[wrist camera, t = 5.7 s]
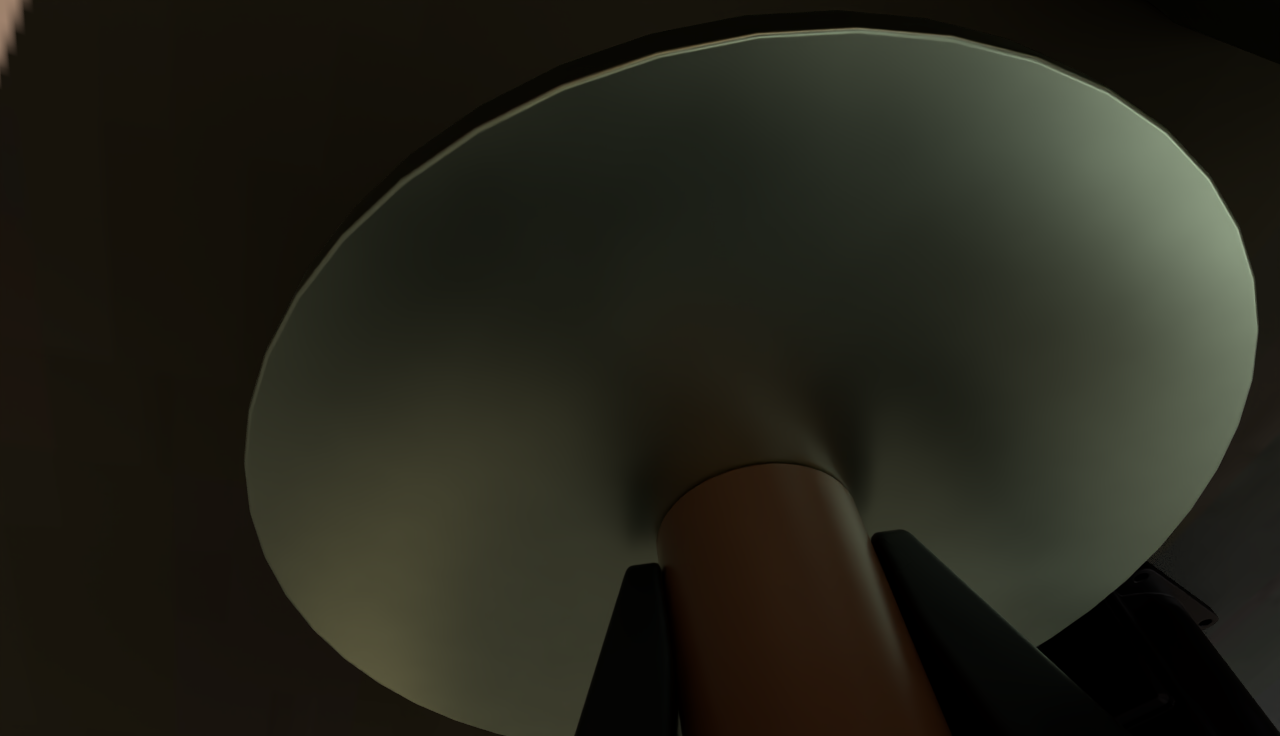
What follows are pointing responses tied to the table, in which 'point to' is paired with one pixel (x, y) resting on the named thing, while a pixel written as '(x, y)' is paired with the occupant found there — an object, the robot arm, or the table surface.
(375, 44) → the table surface
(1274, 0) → the tin
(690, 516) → the tin lid
